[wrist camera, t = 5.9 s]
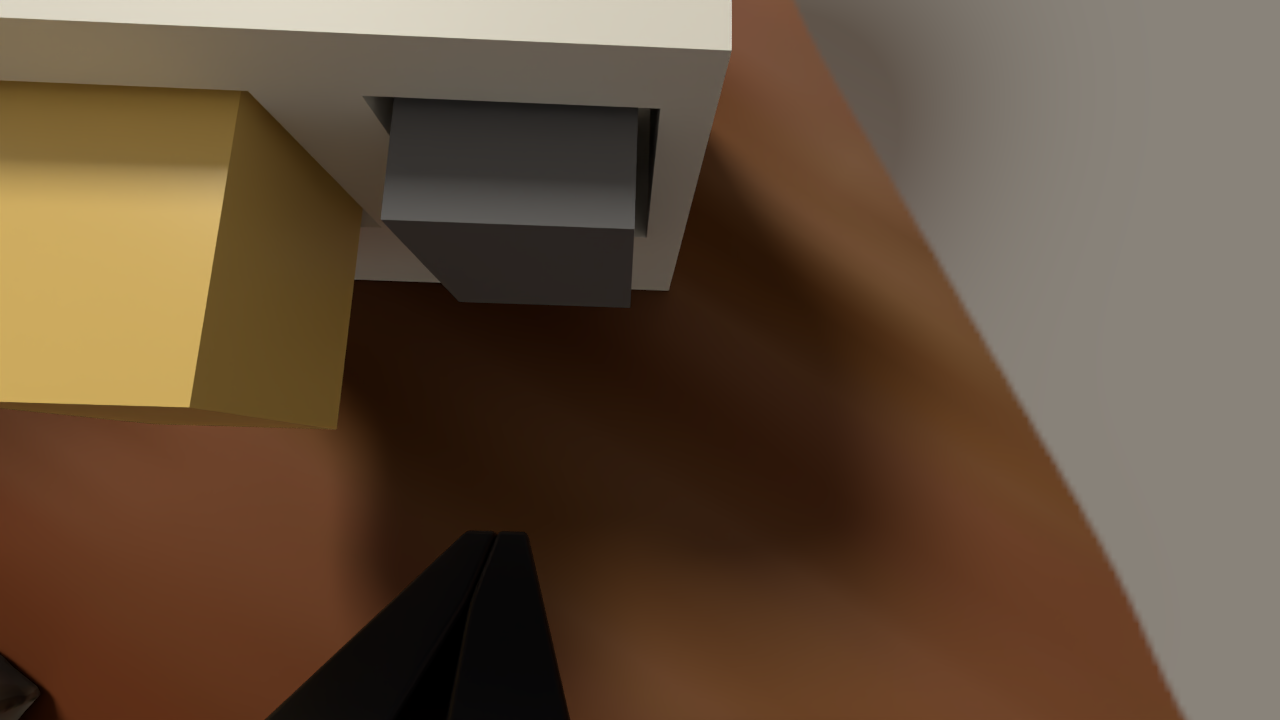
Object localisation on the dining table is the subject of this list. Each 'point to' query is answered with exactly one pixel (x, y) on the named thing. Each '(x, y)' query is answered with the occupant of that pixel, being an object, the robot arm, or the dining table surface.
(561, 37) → the console
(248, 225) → the amber button
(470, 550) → the robot arm
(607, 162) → the charcoal button
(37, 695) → the beverage carton
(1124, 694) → the dining table surface
